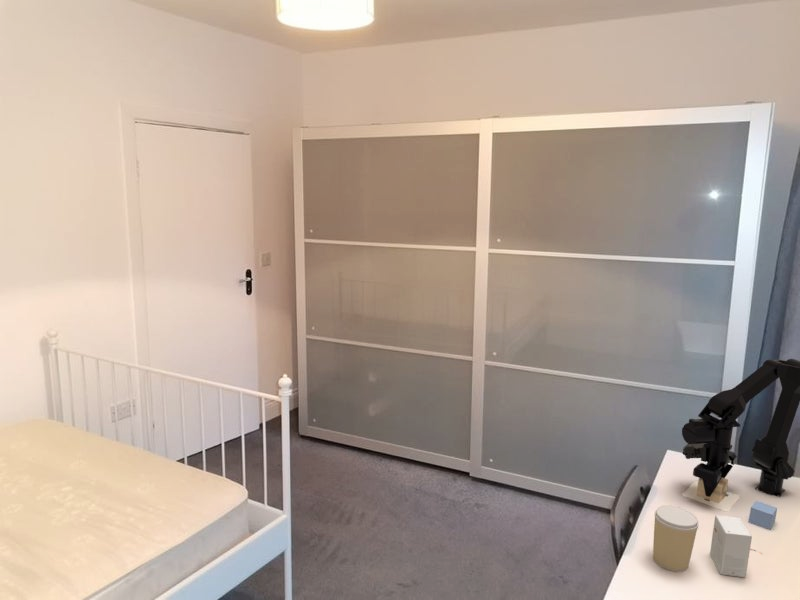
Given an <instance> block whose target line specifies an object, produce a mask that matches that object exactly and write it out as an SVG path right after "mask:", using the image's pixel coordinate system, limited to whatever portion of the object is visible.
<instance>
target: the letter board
mask: <svg viewBox="0 0 800 600" xmlns="http://www.w3.org/2000/svg"><path fill="white" fill-rule="evenodd" d="M697 487H698V480H695V481H694V482H693V483H692V484H691V485H690V486H689V487H688V488H687V489H686V490H685V491H684V492H683V493H682V494H681V496H682V497H683V496H684V497H686V498H689V499H691V500H694V501H697V502H700V503H702V504H706V505H707V506H711V507H713V508H716V509H718V510H720V511H721V510H722V511H724V512H726V513H727V512H729V510H730V509H732V507H733V506H734V505H735V503H736V502H737V501H738V500H739V498H740V497H741V495H738V494H735V493H733V492H730V491H727V490H726V496H725V497H724V498H723V499H722V501H721V502H720V503H717V502H714V501H711V500H708V499H705V498H703V497H700V496H697V495H696V494H697Z"/></svg>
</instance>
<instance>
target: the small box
mask: <svg viewBox="0 0 800 600" xmlns="http://www.w3.org/2000/svg"><path fill="white" fill-rule="evenodd" d="M752 537H753V536H752V535H751V532H750V530H748V529H747V527H746V525H745V524H744V522H743V520H742V519H741V518H740V517H733V516H726V515H719V514H716V515H714V523H713V529H712V536H711V544H710V551H709V556H710V557H711V558H712V561H713V563H714V564H715V567H716V569H717V571H718V573H719V574H720V575H724V576H731V577H739V578H746V577H747V571H748V566H749V558H750V553H751V552H750V551H751V544H752Z"/></svg>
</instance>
